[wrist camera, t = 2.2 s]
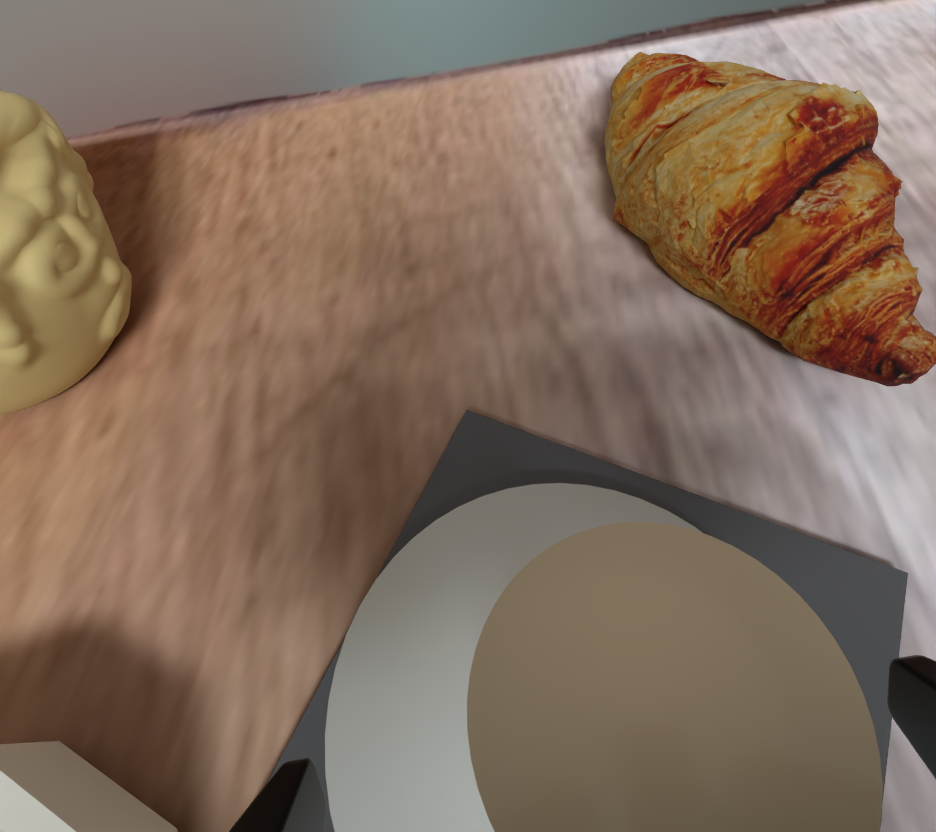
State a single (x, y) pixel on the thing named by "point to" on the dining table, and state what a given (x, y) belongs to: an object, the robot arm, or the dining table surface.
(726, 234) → the croissant
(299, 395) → the dining table surface
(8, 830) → the bowl
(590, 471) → the mat
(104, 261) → the sculpture
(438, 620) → the lid
